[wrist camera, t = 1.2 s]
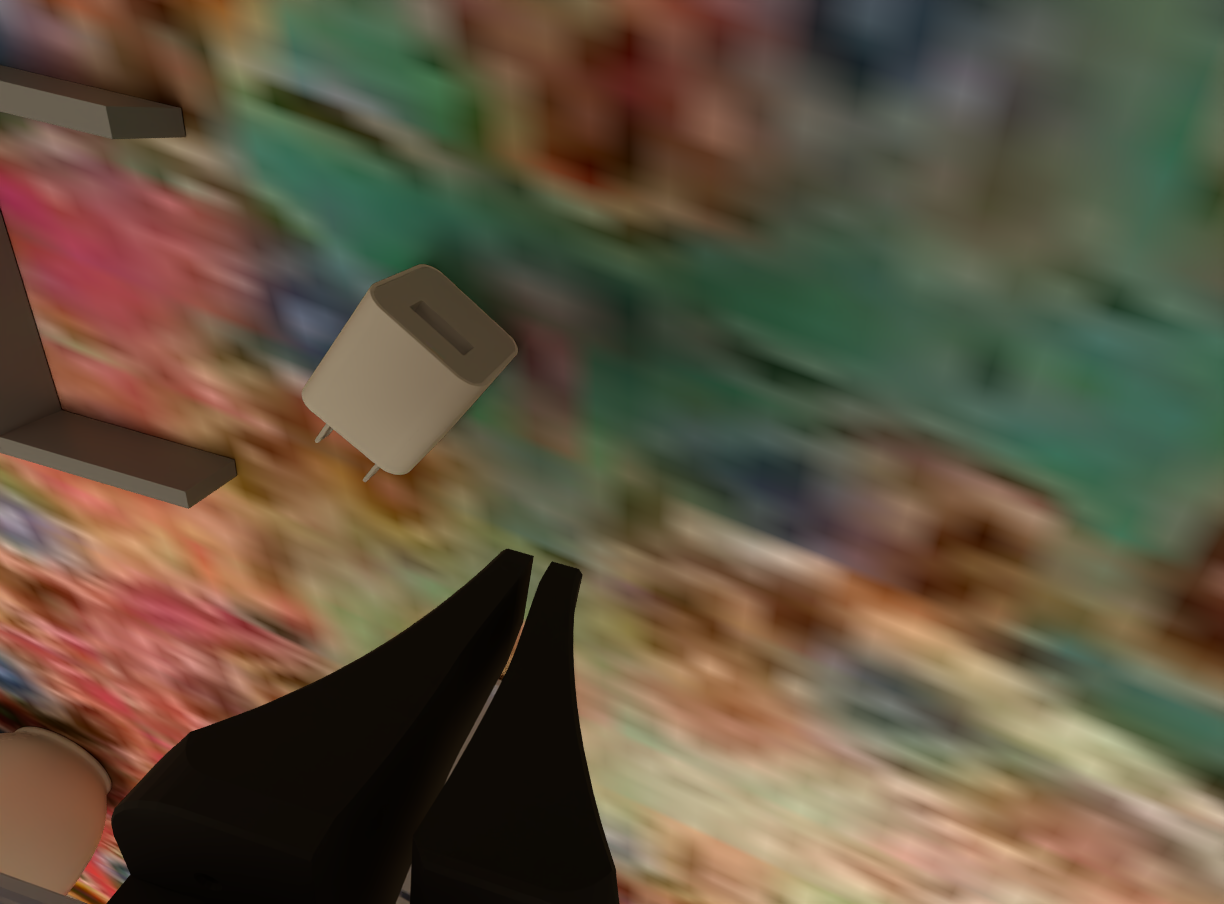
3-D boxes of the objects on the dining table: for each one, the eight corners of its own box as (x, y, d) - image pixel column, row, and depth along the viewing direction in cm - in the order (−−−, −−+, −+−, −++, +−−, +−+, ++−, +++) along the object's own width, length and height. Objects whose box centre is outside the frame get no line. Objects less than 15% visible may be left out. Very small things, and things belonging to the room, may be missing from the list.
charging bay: (236, 475, 25) (188, 508, 23) (49, 421, 26) (-14, 448, 24) (181, 108, 18) (105, 106, 16) (-71, 48, 19) (-175, 38, 17)
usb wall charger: (523, 347, 20) (476, 394, 17) (417, 467, 23) (359, 527, 20) (429, 259, 19) (358, 289, 16) (333, 396, 23) (257, 446, 19)
